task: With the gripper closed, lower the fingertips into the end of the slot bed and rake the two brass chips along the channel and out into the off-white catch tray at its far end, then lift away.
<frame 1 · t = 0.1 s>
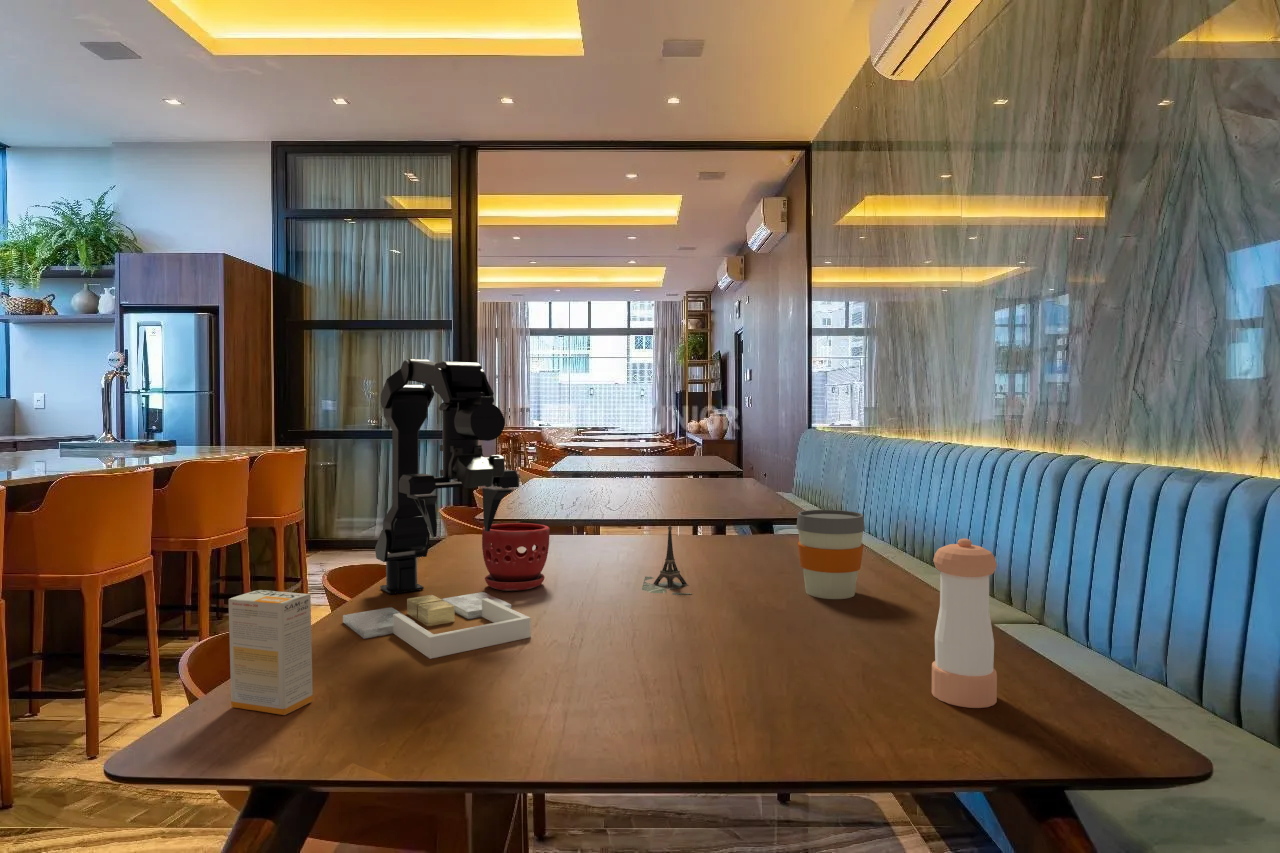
hand: (461, 534, 121), 15 cm above the table, fingers open, 9 cm apart
plant pot: (516, 586, 147), on the table
salt shaker: (963, 697, 90), on the table
brass chip b: (436, 622, 123), on the table
supplement box: (272, 706, 88), on the table
brass chip a: (424, 615, 127), on the table
reusable coffee cup: (830, 594, 140), on the table
eiffel tower figurine: (667, 588, 147), on the table
slot bed: (429, 616, 125), on the table
catch tray: (461, 635, 115), on the table
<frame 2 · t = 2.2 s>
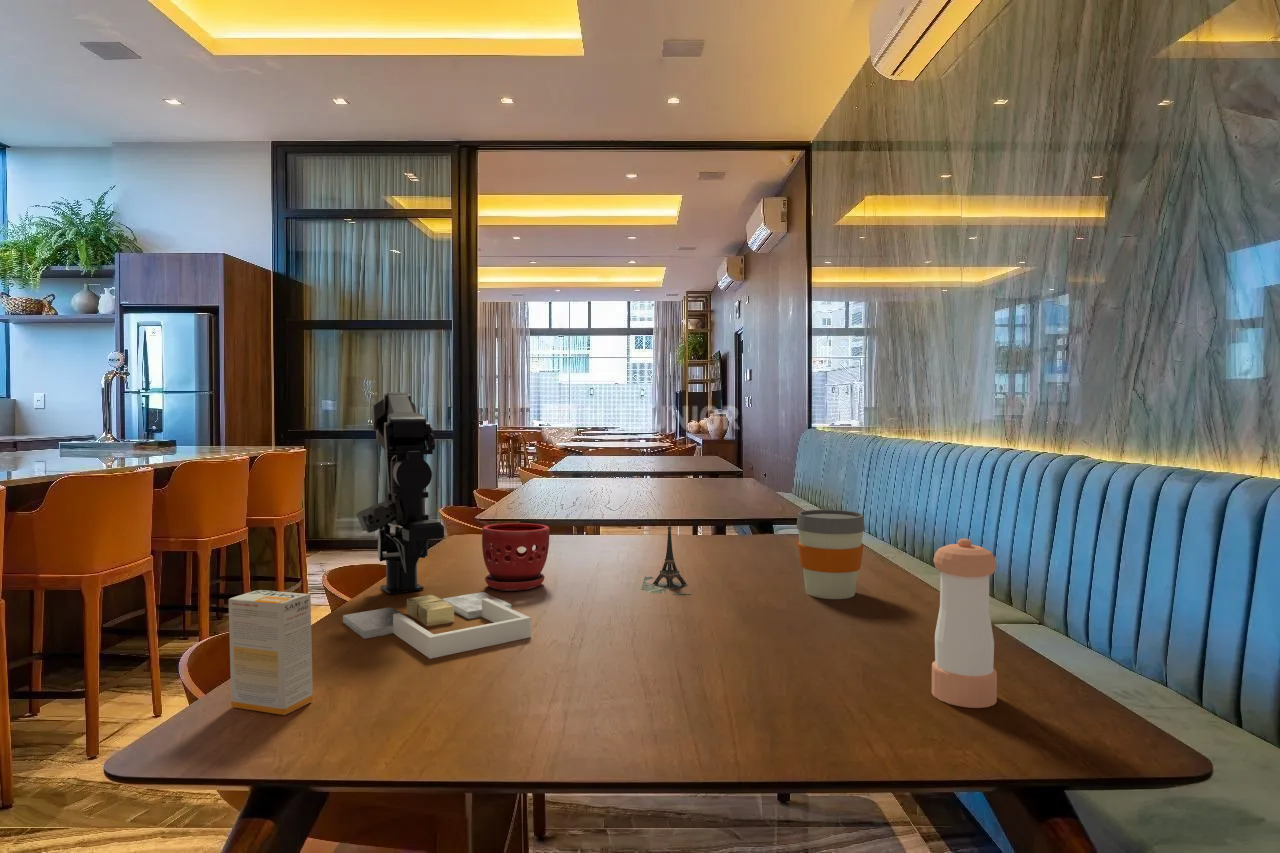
hand: (408, 573, 133), 6 cm above the table, fingers closed
nothing on the table moved.
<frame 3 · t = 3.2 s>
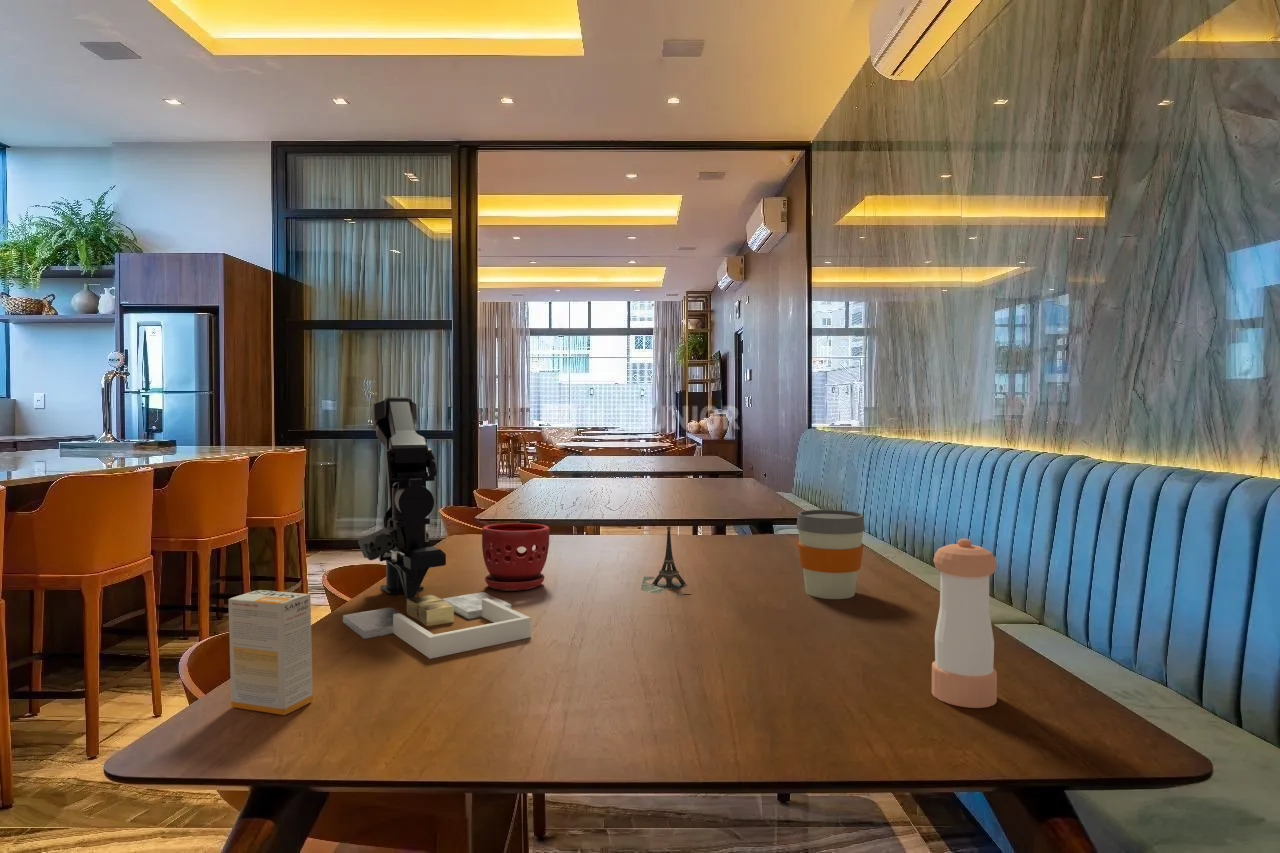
hand: (410, 599, 132), 1 cm above the table, fingers closed
nothing on the table moved.
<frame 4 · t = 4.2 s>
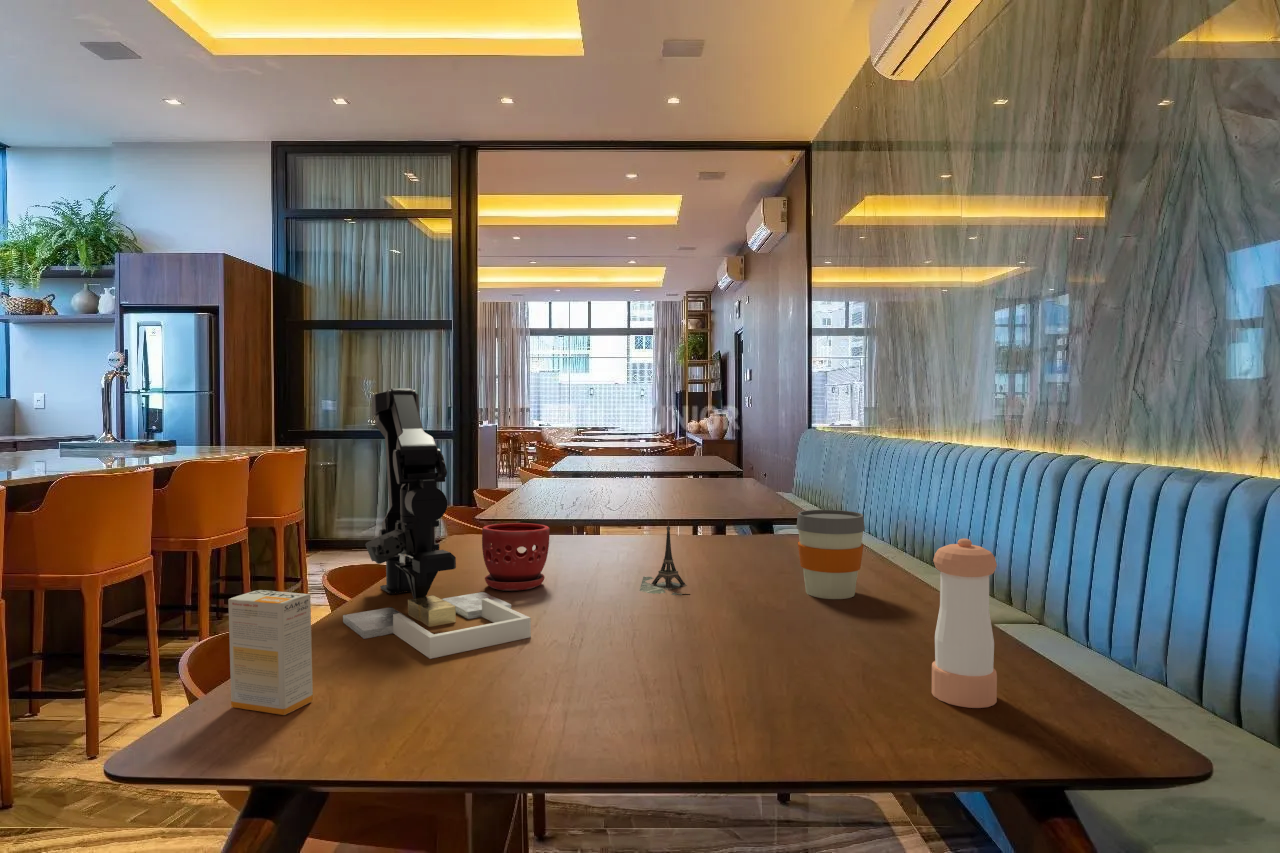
hand: (418, 604, 129), 1 cm above the table, fingers closed
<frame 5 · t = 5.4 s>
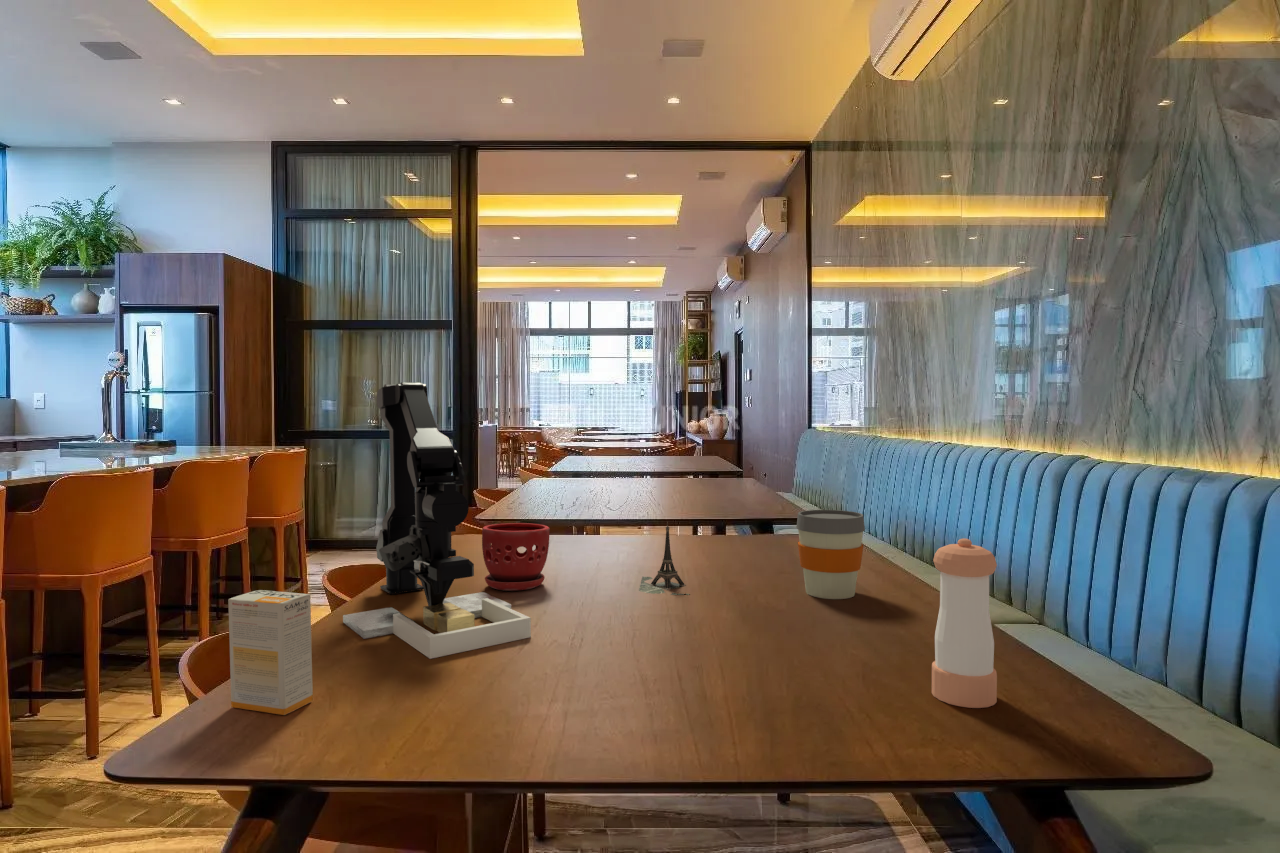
hand: (434, 612, 123), 1 cm above the table, fingers closed
brass chip b: (455, 631, 117), on the table, touching brass chip a
brass chip a: (442, 624, 121), on the table, touching brass chip b, gripper
everything else where it was.
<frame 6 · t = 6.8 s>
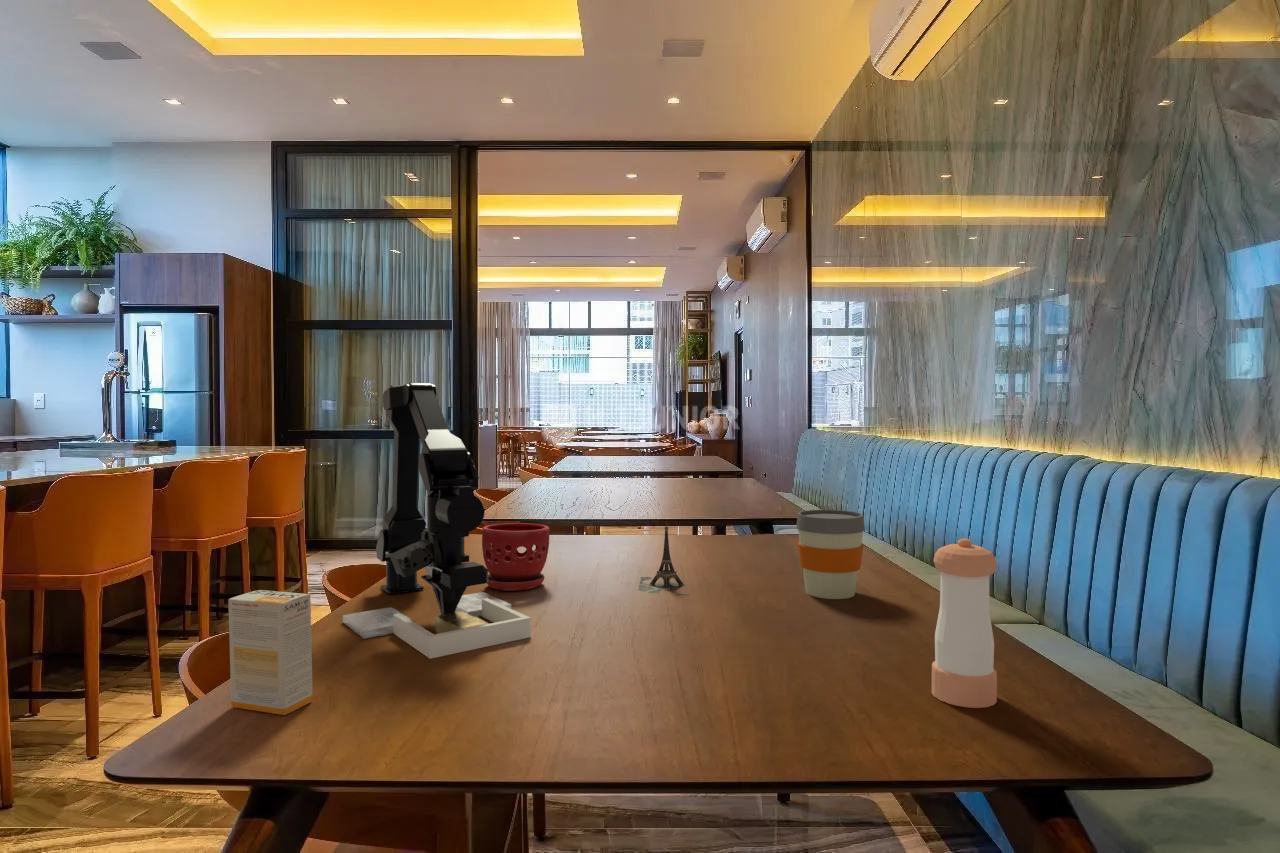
hand: (446, 620, 119), 1 cm above the table, fingers closed
brass chip b: (468, 640, 113), on the table, touching brass chip a
brass chip a: (454, 634, 117), on the table, touching brass chip b
everything else where it was.
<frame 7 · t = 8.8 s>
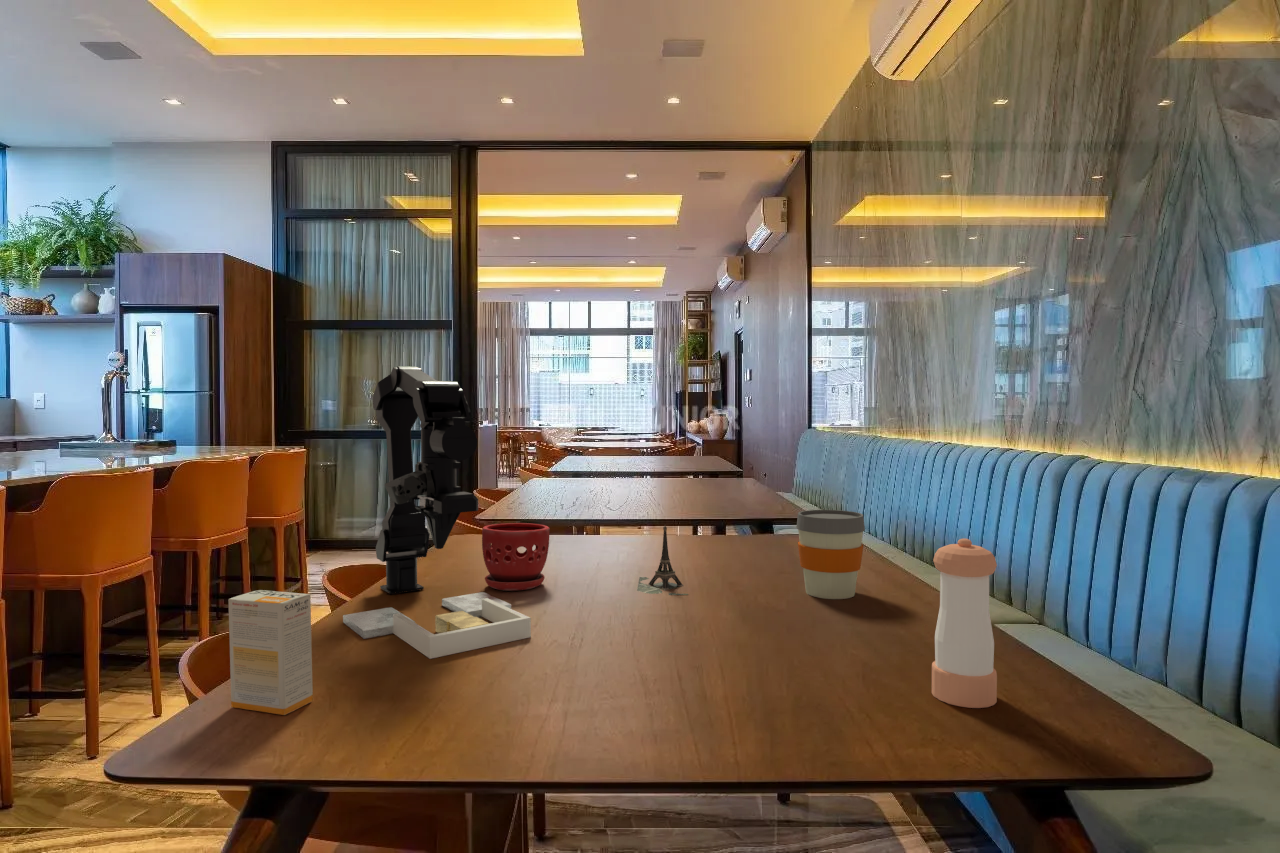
hand: (439, 548, 125), 12 cm above the table, fingers closed
brass chip b: (468, 640, 113), on the table
brass chip a: (454, 633, 117), on the table
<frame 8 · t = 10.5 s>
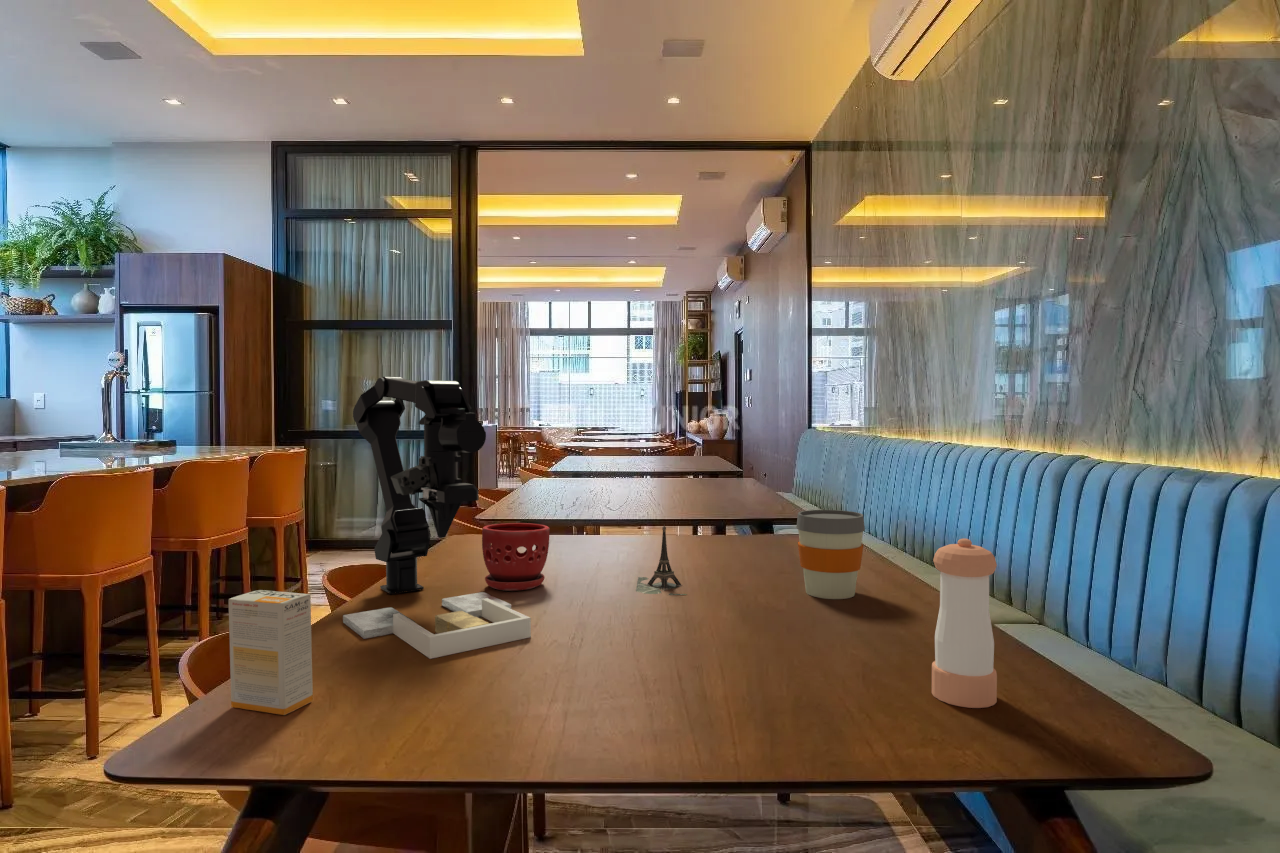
hand: (441, 537, 133), 12 cm above the table, fingers closed
at the end: brass chip a inside the target area on the catch tray (2.1 cm from its centre), point 0.0 cm above the catch tray's base; brass chip b inside the target area on the catch tray (2.4 cm from its centre), point 0.0 cm above the catch tray's base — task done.
